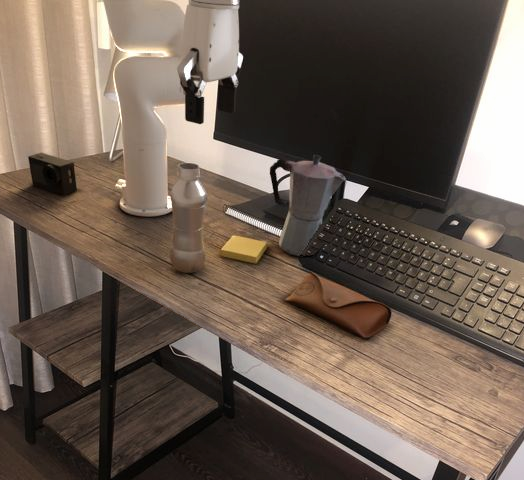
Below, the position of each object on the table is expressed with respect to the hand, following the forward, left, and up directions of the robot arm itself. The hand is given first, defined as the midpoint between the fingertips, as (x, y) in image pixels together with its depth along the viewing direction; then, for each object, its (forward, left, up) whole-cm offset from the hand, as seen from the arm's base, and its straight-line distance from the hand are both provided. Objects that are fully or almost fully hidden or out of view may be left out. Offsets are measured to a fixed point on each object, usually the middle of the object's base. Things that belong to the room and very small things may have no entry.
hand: (210, 116), depth 92 cm
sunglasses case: (+27, 0, -28) cm, 39 cm away
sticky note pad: (+2, +10, -28) cm, 30 cm away
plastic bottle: (-3, -3, -28) cm, 29 cm away
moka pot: (+10, +19, -28) cm, 36 cm away
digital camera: (-52, +10, -28) cm, 60 cm away
